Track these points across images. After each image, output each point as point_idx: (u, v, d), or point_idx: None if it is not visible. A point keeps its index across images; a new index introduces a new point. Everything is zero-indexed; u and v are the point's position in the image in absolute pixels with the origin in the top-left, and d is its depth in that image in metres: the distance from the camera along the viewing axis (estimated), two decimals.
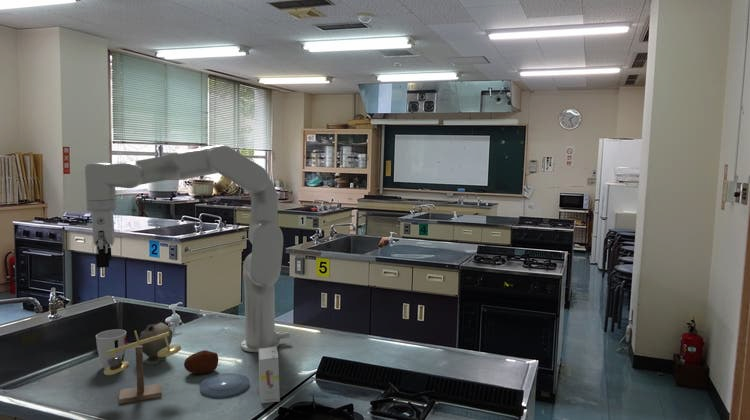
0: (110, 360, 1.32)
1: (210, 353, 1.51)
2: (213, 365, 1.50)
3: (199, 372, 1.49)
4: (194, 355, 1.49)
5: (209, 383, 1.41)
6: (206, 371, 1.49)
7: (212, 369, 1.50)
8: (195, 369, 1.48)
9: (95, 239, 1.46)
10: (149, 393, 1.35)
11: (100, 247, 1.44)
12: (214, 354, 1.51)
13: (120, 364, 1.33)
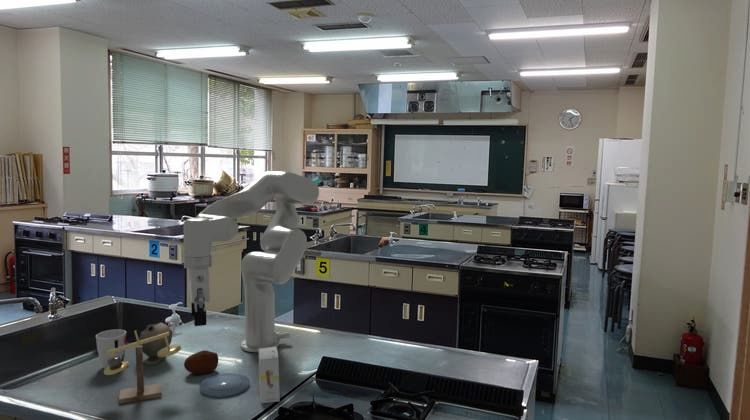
0: (110, 360, 1.32)
1: (210, 353, 1.51)
2: (213, 365, 1.50)
3: (199, 372, 1.49)
4: (194, 355, 1.49)
5: (209, 383, 1.41)
6: (206, 371, 1.49)
7: (212, 369, 1.50)
8: (195, 369, 1.48)
9: (194, 297, 1.43)
10: (149, 393, 1.35)
11: (200, 306, 1.42)
12: (214, 354, 1.51)
13: (120, 364, 1.33)
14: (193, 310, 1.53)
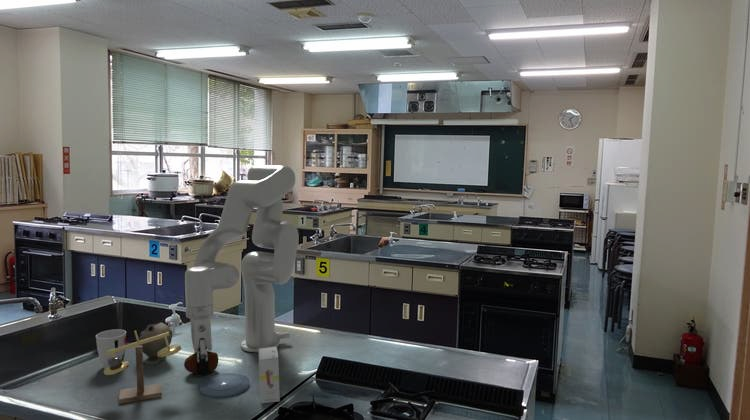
0: (110, 360, 1.32)
1: (210, 353, 1.51)
2: (213, 365, 1.50)
3: None
4: (194, 355, 1.49)
5: (209, 383, 1.41)
6: None
7: (212, 369, 1.50)
8: None
9: (196, 347, 1.45)
10: (149, 393, 1.35)
11: (202, 357, 1.44)
12: (214, 354, 1.51)
13: (120, 364, 1.33)
14: None
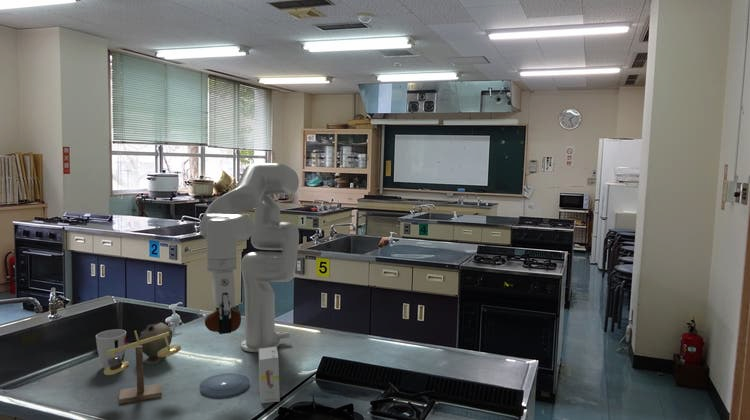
0: (110, 360, 1.32)
1: (232, 311, 1.40)
2: (236, 323, 1.40)
3: None
4: (215, 312, 1.39)
5: (209, 383, 1.41)
6: None
7: (235, 328, 1.40)
8: (217, 327, 1.37)
9: (219, 302, 1.35)
10: (149, 393, 1.35)
11: (225, 313, 1.34)
12: (237, 312, 1.41)
13: (120, 364, 1.33)
14: None
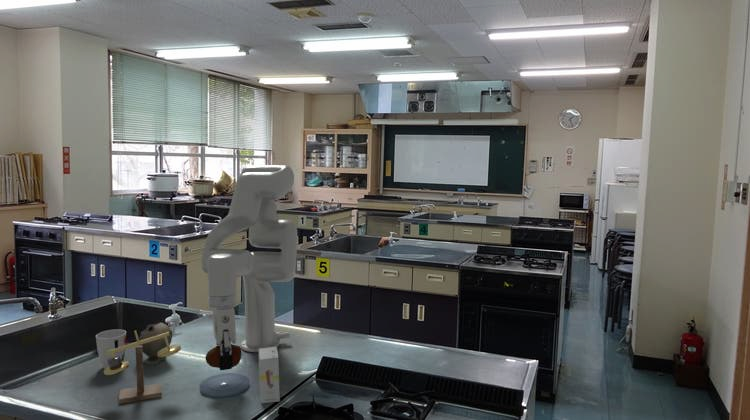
0: (110, 360, 1.32)
1: (233, 346, 1.41)
2: (236, 359, 1.40)
3: None
4: (216, 348, 1.40)
5: (209, 383, 1.41)
6: None
7: (235, 363, 1.41)
8: (218, 364, 1.38)
9: (219, 339, 1.36)
10: (149, 393, 1.35)
11: (226, 350, 1.35)
12: (237, 347, 1.41)
13: (120, 364, 1.33)
14: None
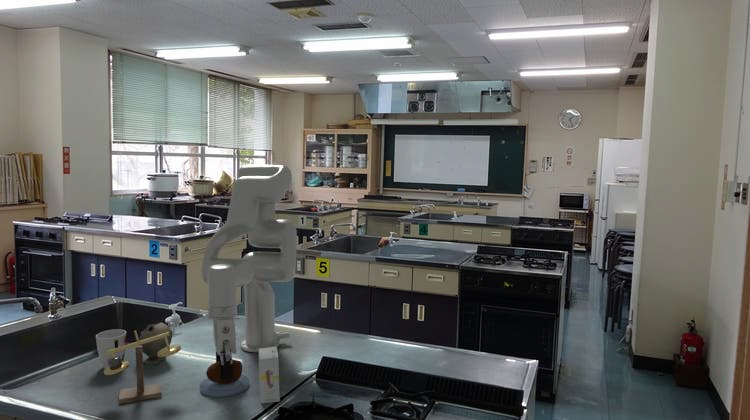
0: (110, 360, 1.32)
1: (234, 361, 1.42)
2: (237, 374, 1.41)
3: (222, 382, 1.39)
4: (217, 363, 1.40)
5: (209, 383, 1.41)
6: (230, 381, 1.40)
7: (236, 378, 1.41)
8: (219, 379, 1.39)
9: (220, 349, 1.36)
10: (149, 393, 1.35)
11: (227, 359, 1.34)
12: (238, 362, 1.42)
13: (120, 364, 1.33)
14: (218, 359, 1.45)
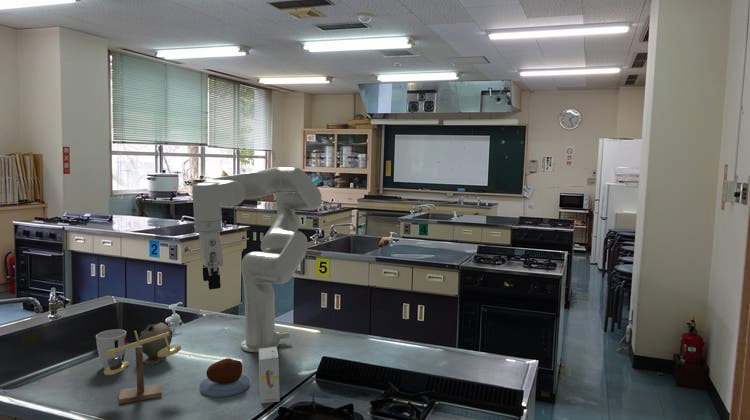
0: (110, 360, 1.32)
1: (234, 361, 1.42)
2: (237, 374, 1.41)
3: (222, 382, 1.39)
4: (217, 363, 1.40)
5: (209, 383, 1.41)
6: (230, 381, 1.40)
7: (236, 378, 1.41)
8: (219, 379, 1.39)
9: (207, 261, 1.44)
10: (149, 393, 1.35)
11: (214, 269, 1.43)
12: (238, 362, 1.42)
13: (120, 364, 1.33)
14: (205, 275, 1.54)
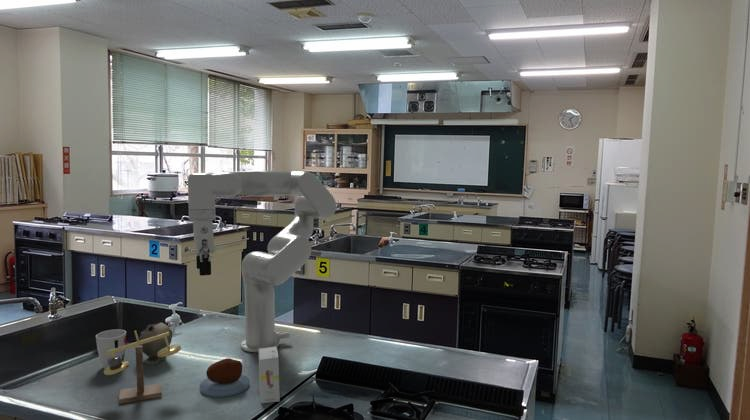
0: (110, 360, 1.32)
1: (234, 361, 1.42)
2: (237, 374, 1.41)
3: (222, 382, 1.39)
4: (217, 363, 1.40)
5: (209, 383, 1.41)
6: (230, 381, 1.40)
7: (236, 378, 1.41)
8: (219, 379, 1.39)
9: (199, 248, 1.50)
10: (149, 393, 1.35)
11: (205, 255, 1.48)
12: (238, 362, 1.42)
13: (120, 364, 1.33)
14: (198, 263, 1.59)
